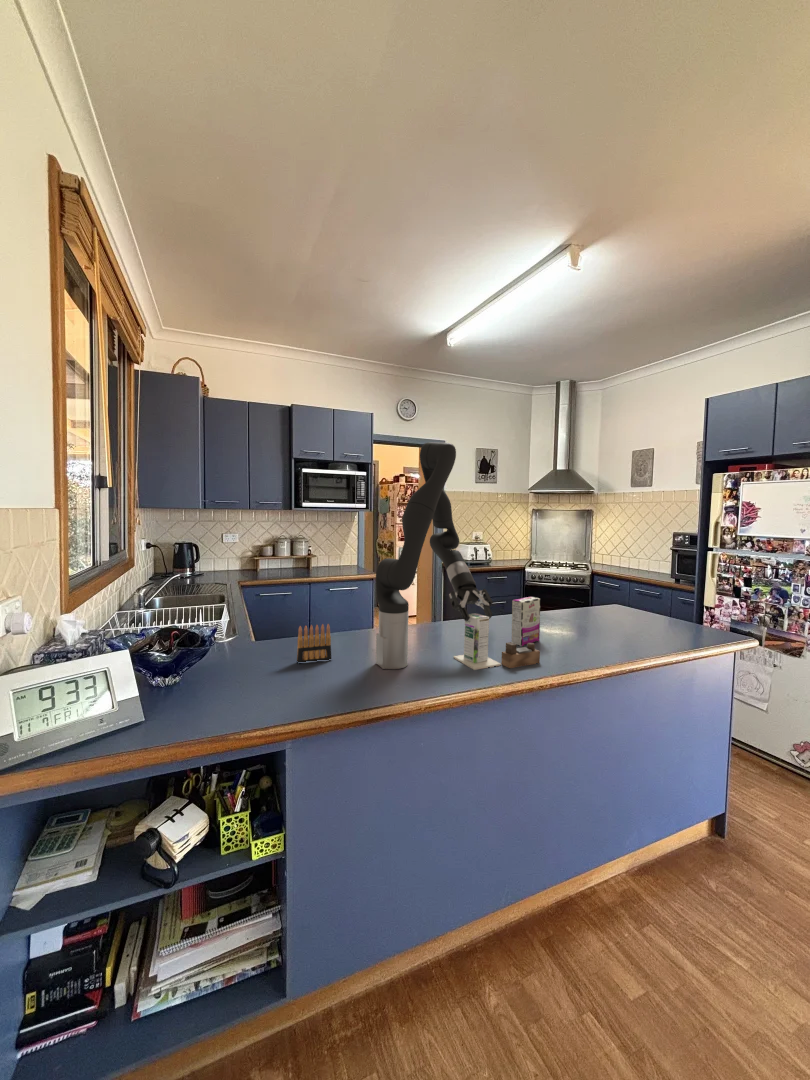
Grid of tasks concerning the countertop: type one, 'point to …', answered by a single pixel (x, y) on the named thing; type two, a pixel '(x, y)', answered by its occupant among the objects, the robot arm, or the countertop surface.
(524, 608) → the candy bar box
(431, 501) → the robot arm
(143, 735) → the countertop surface
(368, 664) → the countertop surface
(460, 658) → the mat
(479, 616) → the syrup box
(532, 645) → the body
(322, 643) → the ammunition clip
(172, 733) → the countertop surface
